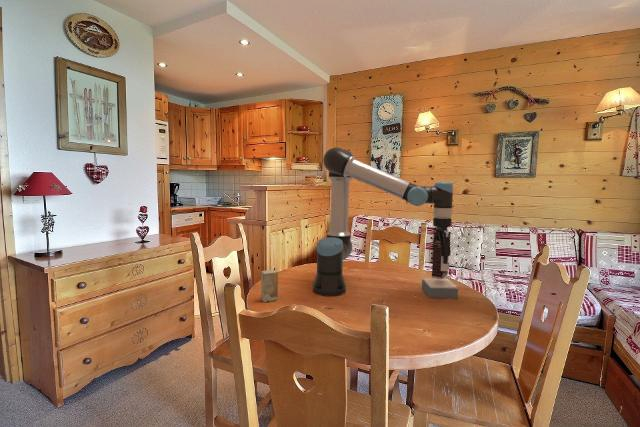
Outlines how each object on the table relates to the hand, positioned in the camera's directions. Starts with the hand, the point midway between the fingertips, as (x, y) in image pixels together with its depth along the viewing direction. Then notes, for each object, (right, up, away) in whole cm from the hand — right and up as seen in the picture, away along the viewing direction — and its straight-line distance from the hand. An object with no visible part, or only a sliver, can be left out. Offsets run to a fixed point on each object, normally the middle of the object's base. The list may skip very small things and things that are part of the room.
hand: (440, 267), depth 143 cm
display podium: (0, -12, +1) cm, 12 cm away
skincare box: (-75, -12, -8) cm, 76 cm away
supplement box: (0, -4, 0) cm, 4 cm away
